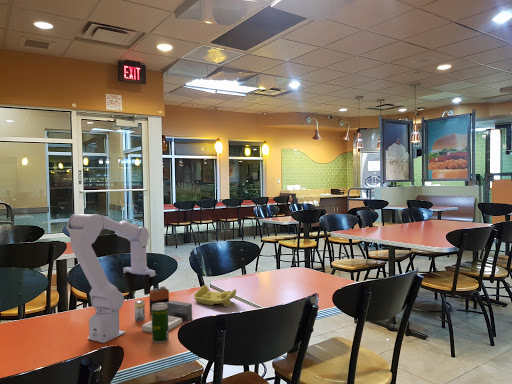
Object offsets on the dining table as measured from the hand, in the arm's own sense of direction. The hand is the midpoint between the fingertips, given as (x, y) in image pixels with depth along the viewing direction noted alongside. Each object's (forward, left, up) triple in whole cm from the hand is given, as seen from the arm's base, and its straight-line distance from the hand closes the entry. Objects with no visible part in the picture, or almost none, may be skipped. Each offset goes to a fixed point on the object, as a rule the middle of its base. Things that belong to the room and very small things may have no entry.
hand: (139, 293), depth 148 cm
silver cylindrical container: (0, 0, -10) cm, 10 cm away
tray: (-2, -13, -10) cm, 17 cm away
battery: (+10, -1, -11) cm, 15 cm away
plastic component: (+29, -16, -11) cm, 35 cm away
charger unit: (+8, -13, -10) cm, 18 cm away
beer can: (-11, -20, -11) cm, 25 cm away
